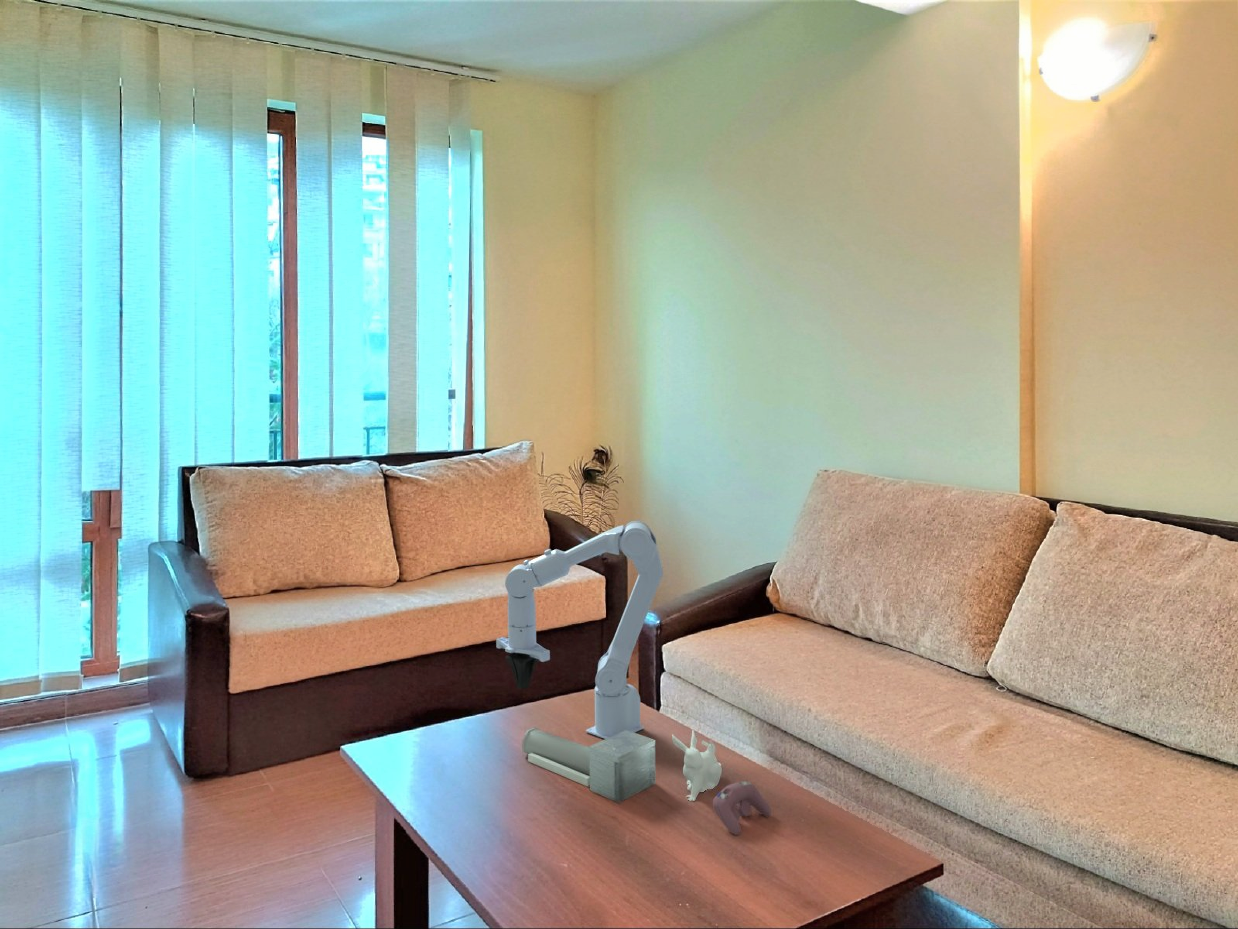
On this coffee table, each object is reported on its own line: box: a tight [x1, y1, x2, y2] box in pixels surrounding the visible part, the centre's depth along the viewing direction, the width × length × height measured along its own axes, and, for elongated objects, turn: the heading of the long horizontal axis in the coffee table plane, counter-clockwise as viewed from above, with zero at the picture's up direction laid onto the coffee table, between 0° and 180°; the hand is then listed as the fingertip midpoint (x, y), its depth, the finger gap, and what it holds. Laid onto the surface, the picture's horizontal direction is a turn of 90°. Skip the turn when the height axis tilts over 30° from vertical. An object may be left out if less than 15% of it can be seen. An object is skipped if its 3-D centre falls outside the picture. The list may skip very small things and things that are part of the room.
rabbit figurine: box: [671, 729, 723, 802], centre depth 162 cm, size 12×8×10 cm, turn 138°
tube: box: [521, 726, 590, 776], centre depth 169 cm, size 5×5×25 cm
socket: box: [588, 730, 656, 804], centre depth 161 cm, size 10×7×8 cm
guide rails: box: [527, 753, 590, 787], centre depth 170 cm, size 8×16×1 cm, turn 47°
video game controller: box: [712, 781, 772, 836], centre depth 149 cm, size 10×5×7 cm, turn 135°
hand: (523, 687), depth 186 cm, fingers closed
